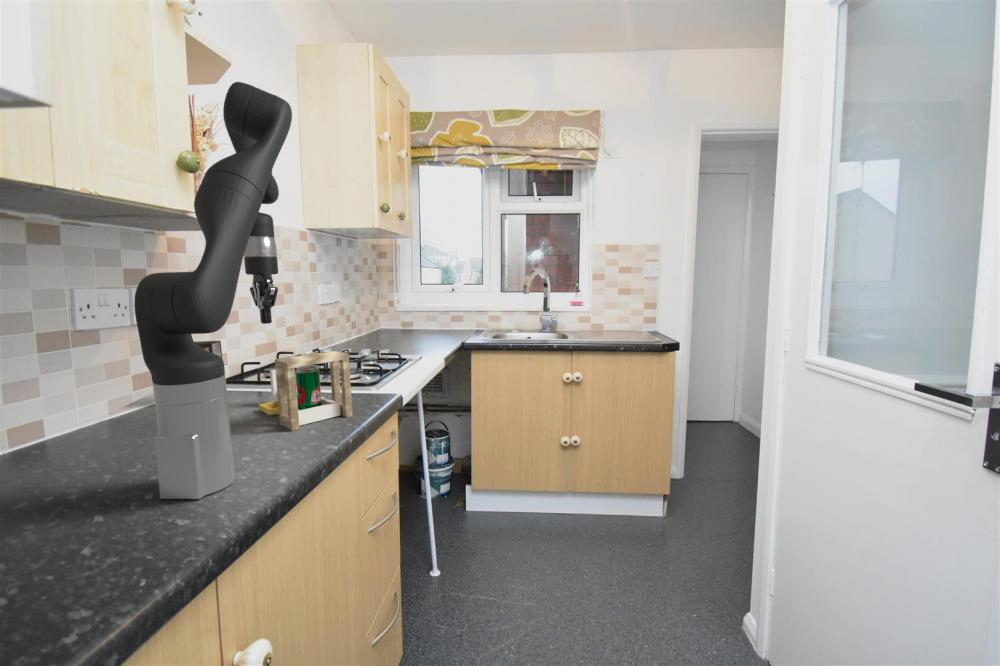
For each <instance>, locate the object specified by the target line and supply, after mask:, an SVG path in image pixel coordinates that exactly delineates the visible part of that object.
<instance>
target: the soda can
mask: <svg viewBox="0 0 1000 666" xmlns="http://www.w3.org/2000/svg"><path fill="white" fill-rule="evenodd" d="M320 375H321V374H320V369H319V367H318V365H317V364H313V365H307V366H301V367H296V370H295V377H296V391H297V400H298V410H304V409H308V408H313V407H317V406H322V402H321V397H322V392H321V391H322V390H321V377H320Z"/></svg>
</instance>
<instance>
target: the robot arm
mask: <svg viewBox="0 0 1000 666" xmlns="http://www.w3.org/2000/svg"><path fill="white" fill-rule="evenodd" d="M222 109H223V111H222V113H223V114H222V115H223V121H224V122H223V123H224V125H225V129H226V131H227V134H228V136H229V140H230V141H231V144H232V147H233V149H234V152H235V153H233V154H231V155H229V156H227V157H224V158H221V159H219V160H218V161H217V162H215V163H213V164H212V165H211V166H209V168H208V169H207V170H206V172H205V173H204V175H203V178H202V180H201V183H200V184H199V186H198V189H197V191H196V193H195V197H194V201H193V208H194V214H195V216H196V220H197V222H198V226H199V227H200V229H201V232H202V235H203V236H204V240H205V247H204V251H203V254H202V256H201V259H200V262H199V263H198V265H197V268H195V270H194V271H179V272H178V271H173V272H171V271H169V272H167V271H166V272H154V273H150V274H148V275H146V276H145V277H143V278H142V279H141V280H140V281H139V282H138V285H137V287H136V290H135V293H134V314H135V315H134V316H135V322H136V325H137V326H136V327H137V333H138V337H139V342H140V347H141V353H142V358H143V362H144V364H145V366H146V368H147V369H148V370H149V372H150V374H151V381H152V382H151V383H152V389H153V397H154V406H155V415H156V425H157V435H155V436H154V438H153V447H154V456H155V457H154V458H155V463H156V472H157V481H158V488H159V489H158V490H159V497H160V499H161V500H163V499H164V500H166V499H167V500H173V499H174V500H201V499H202V498H204V497H206V496H207V495H210V494H213V493H217V492H219V491H221V490H223V489H225V488H226V487H229V486H230V485H232V484H233V483H234V481H235V479H236V477H235V476H236V475H235V467H234V465H235V463H234V455H233V454H234V453H233V446H232V445H233V443H232V435H231V425H230V415H229V414H230V413H229V403H228V402H229V401H228V393H227V392H228V391H227V380H226V371H225V363H224V362H225V361H224V359H223V357H222V358H221V357H220V356H218V355H216V354H213V353H211V352H208V351H206V350H204V349H202V348H201V347H199V346H198V345H197V344H196V343H195V342H196V341H194V338H193V336H192V335H201V334H202V335H204V334H205V335H206V334H212V333H215V332H218V331H219V330H221V329H222V328H223V327H224V326H225V325H226V323H227V321H228V320H229V317H230V314H231V312H232V309H233V307H234V306H233V305H234V301H235V296H236V292H237V288H238V284H239V283H238V282H239V278H240V272H241V268H242V264H243V261H244V271H245V274H246V275H248V276H249V275H250V276H251V275H252V276H253V277H252V278H253V279H252V286H250V287H249V292H250V294H251V297H252V299H253V302H254V305H255V307H257V309H258V310H259V316H260V323H261V324H263V325H267V324H271V323H272V322H273V320H272V318H273V317H272V309H273V307H275V305H276V302H277V301H276V300H277V296H278V291H279V288H278V286H275V283H274V280H273V275H277V274H278V273H279V265H278V264H279V263H278V262H279V261H278V253H277V244H276V238H275V228H274V219H273V217H272V216H271V215H270V214H268V213H264V212H260V209H261V207H262V205H272V204H274V203H276V202H277V201H278V199H279V195H280V193H279V192H280V190H279V185H278V183H277V180H276V179H275V177H274V175H273V169H274V166H275V163H276V161H277V158H278V157H279V154H280V152H281V150H282V148H283V146H284V144H285V141H286V139H287V137H288V135H289V131H290V129H291V125H292V122H293V121H292V119H293V112H292V111H293V110H292V107H291V105H290V103H288V101H287V100H285V99H283V98H281V97H279V96H278V95H275V94H273V93H270V92H268V91H265V90H263V89H262V88H259V87H256V86H254V85H252V84H249V83H245V82H242V81H235V82H232V84H231V85H230V86H229V87H228V88H227V91H226V95H225V98H224V102H223V108H222Z"/></svg>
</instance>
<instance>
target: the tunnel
mask: <svg viewBox="0 0 1000 666" xmlns="http://www.w3.org/2000/svg"><path fill="white" fill-rule="evenodd" d="M326 363H329V369H330V370H329V371H330V383H331V400H333V401H335V402H338V403H340V416H342V417H344V418H350V417H353V416H354V415H353V414H354V413H353V401H352V387H351V386H352V384H351V370H350V369H351V368H350V353H349V352H348V353H347V352H342V351H336V350H331V351H325V352H319V353H310V354H304V355H298V356H297V355H296V356H289V357H282V358H276V359H274V368H275V369H274V370H276V382H277V394H278V396H277V401H278V407H279V415H278V418H279V419H278V420H279V426H281V425H282V426H281V427H284V426H285V427H284V428H286V427H287V429H288V430H289V431H291V432H295V431H294V430H296V431H299V430H300V426H299V417H298V404H297V387H296V373H295V372H296V368H297V367H301V366H307V365H318V364H326ZM298 429H299V430H298Z"/></svg>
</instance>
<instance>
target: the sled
mask: <svg viewBox="0 0 1000 666" xmlns="http://www.w3.org/2000/svg"><path fill="white" fill-rule="evenodd" d="M269 378H270V387H271V388H270V389H271V392H270V393H271V396H273V397H278V394H277V382H276V370H275V369H270V370H269ZM321 402H322V406H317V407H313V408H308V409H304V410H298V417H299V427H300V426H304V425H307V424H311V423H312V424H313V423H315V422H319V421H324V420H328V419H331V418H334V417H335V418H336V417H339V416H341V415H340V403H338V402H335V401H333V400H332V399H330V398H327V397H324V396H321ZM297 404H298V400H297Z"/></svg>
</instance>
